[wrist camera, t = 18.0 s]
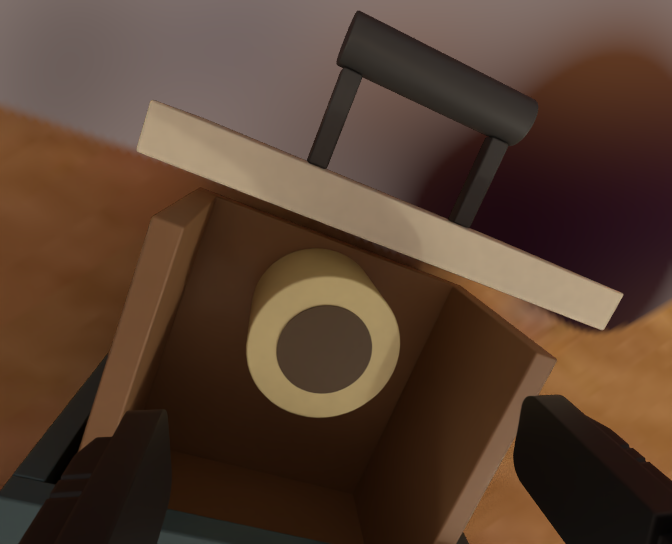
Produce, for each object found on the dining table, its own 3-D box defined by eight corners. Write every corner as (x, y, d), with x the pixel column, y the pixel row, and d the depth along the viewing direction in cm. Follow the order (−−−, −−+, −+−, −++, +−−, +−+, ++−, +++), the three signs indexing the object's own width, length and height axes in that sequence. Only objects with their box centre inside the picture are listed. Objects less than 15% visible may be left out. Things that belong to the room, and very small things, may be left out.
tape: (233, 344, 19) (223, 396, 15) (277, 229, 18) (278, 253, 14) (347, 378, 20) (365, 435, 16) (394, 272, 19) (425, 306, 15)
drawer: (240, 1, 16) (213, -117, 9) (541, 146, 19) (707, 147, 12) (101, 431, 20) (2, 598, 13) (369, 496, 23) (415, 663, 16)
